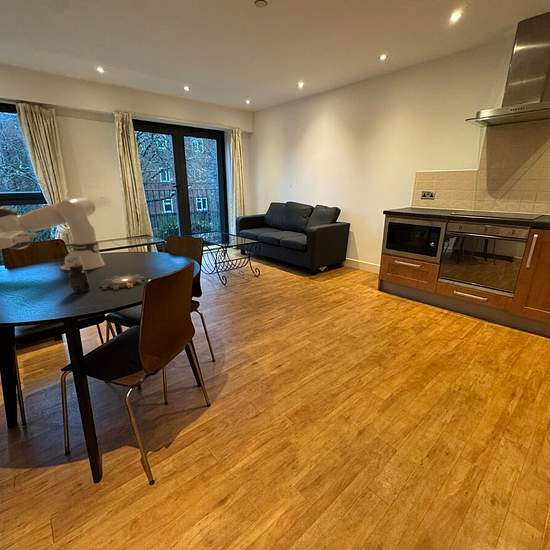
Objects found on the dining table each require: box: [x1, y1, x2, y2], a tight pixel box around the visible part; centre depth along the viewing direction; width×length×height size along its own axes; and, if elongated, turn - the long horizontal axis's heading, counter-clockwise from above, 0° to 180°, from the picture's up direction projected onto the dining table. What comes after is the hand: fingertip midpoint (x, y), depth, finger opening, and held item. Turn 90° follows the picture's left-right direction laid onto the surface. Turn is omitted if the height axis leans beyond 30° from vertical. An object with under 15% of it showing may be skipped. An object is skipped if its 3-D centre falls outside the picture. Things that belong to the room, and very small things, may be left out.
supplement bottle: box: [68, 265, 91, 294], centre depth 132 cm, size 7×7×12 cm
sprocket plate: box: [99, 273, 145, 291], centre depth 143 cm, size 19×19×2 cm
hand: (32, 237), depth 121 cm, fingers open, 8 cm apart
